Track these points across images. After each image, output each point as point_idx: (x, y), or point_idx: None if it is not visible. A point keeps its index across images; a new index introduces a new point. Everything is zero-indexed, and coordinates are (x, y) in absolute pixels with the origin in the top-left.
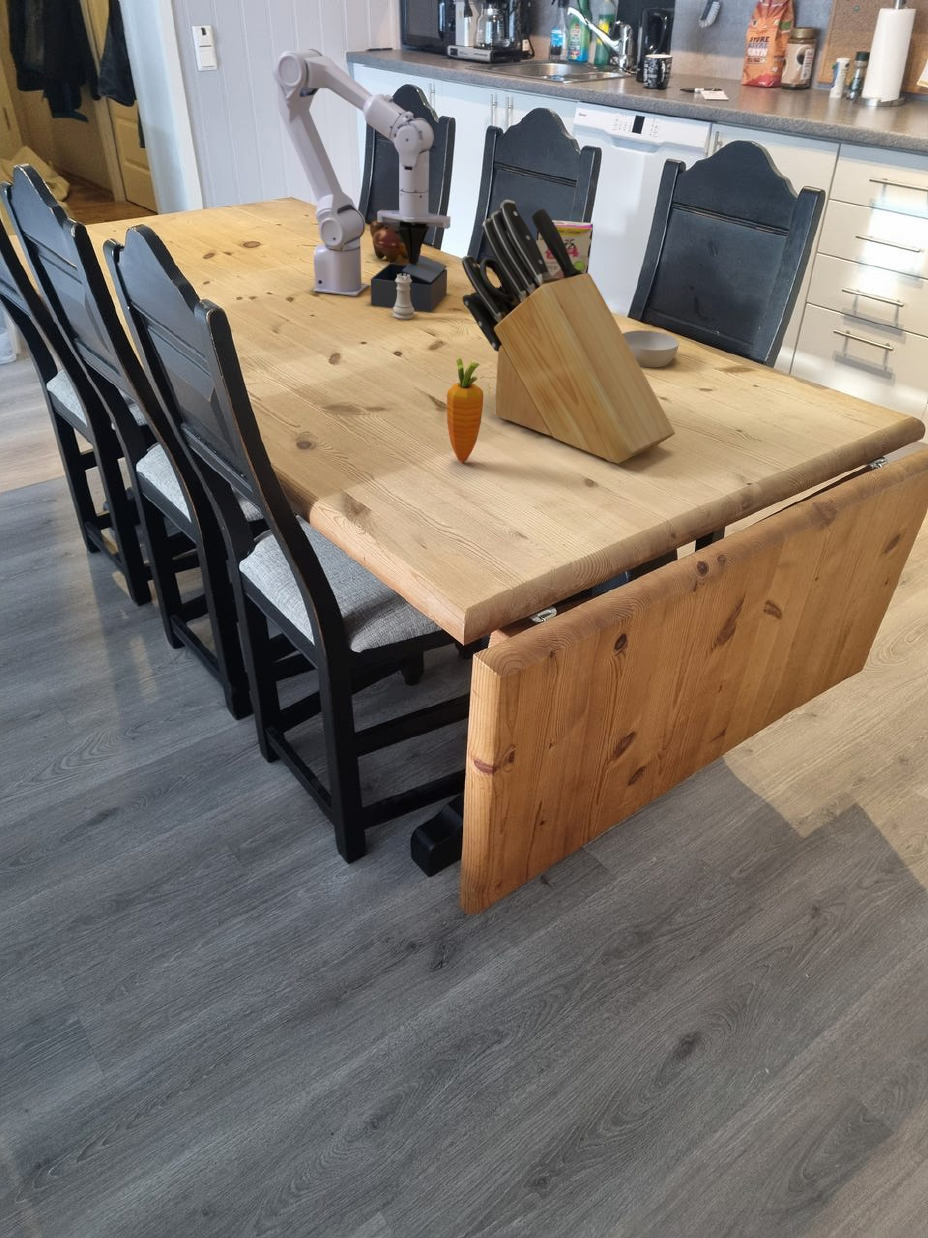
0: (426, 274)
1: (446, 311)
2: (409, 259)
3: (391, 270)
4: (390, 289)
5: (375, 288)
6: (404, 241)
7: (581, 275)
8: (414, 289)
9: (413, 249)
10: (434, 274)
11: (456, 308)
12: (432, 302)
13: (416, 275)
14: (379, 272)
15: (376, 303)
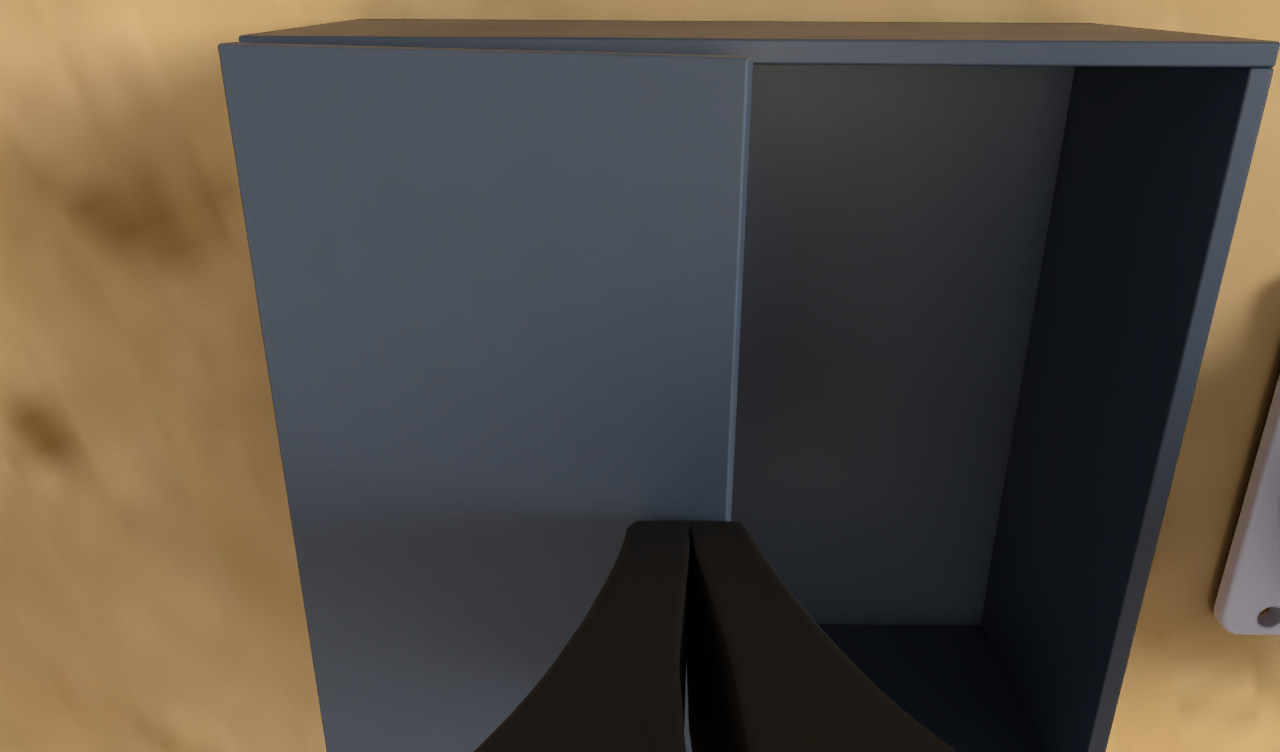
0: (384, 297)
1: (213, 123)
2: (737, 540)
3: (1032, 746)
4: (901, 33)
5: (1128, 32)
6: (898, 723)
7: None
8: (530, 32)
9: (653, 629)
10: (314, 418)
11: (161, 266)
12: None
13: (470, 60)
14: (1171, 424)
15: (1036, 24)
